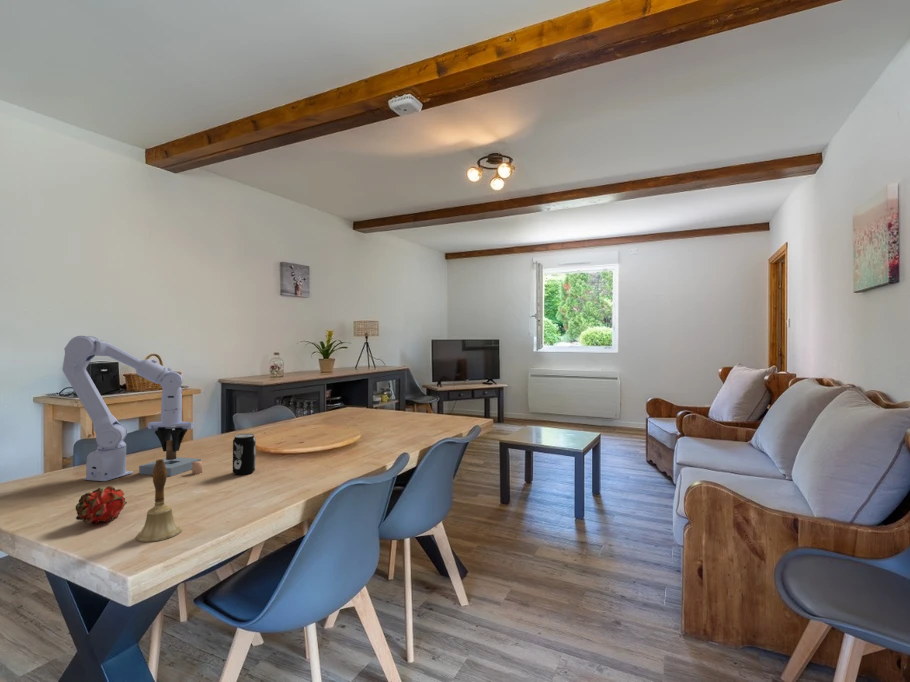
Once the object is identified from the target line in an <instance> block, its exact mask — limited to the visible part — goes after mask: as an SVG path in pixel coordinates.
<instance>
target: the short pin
mask: <svg viewBox="0 0 910 682" xmlns="http://www.w3.org/2000/svg"><path fill="white" fill-rule="evenodd" d="M200 473H201V474H203V461H202V460H201V461H196V462H192V470H191V474H192V475H194V474H196V475H201V474H200Z"/></svg>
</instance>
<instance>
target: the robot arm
mask: <svg viewBox="0 0 910 682" xmlns="http://www.w3.org/2000/svg"><path fill="white" fill-rule="evenodd" d="M95 356H96V357H97V356H99V357H110V358H111V359H114V360H116V361H118V362H120V363H122V364H124V365H127V366H129V367H131V368H133V369H135V372H136V375H137V376H140V377H141V378H144V379H145V380H147V381H150V382H151V383H154V384H156V385H158V384H159V385H160V387H161V388H162V391H161V397H160V403H161V406H160V418H161V419H160V421H151V422H147V429H148V430H151V429H155V431H154V434H155V435H156V436H157V439H158V440H159V443H160V445H161V449H162V452H165V453H166V441H167V440H172V442H173V452H176V453H177V452H178V451H179V450H180V447H181V445H182V443H183V442H182V440H183V439H184V436H185V435H186V433H187V431H188V430H193V429H196V428H195V427H196V422H193V421H192V422H191V421H183V419H182V416H183V412H182V411H183V410H182V409H183V394H182V392H183V389H182V384H183V380H184V379H183V377H182V375H181V374H180V373H179V372H177V371H174V370H173V371H172V368H170V367H168V368H167V367H166V366H164V365H163V364H162V365H161V364H160V363H158V360H156V359H149V358H146V359H140V358H138V357H137V356H135V355H133V354H131V353H129V352H127V351H125V350H123V349H122V348H120V347H118V346H116V345H115V344H113V343H110V342H108V341H105V340H102V339H99V338H97V337H95V336H93V335H92V336H91V335H86V336H85V335H76V336H73V337H72V338H71V339H70V340H69V341H68V343H67V344H66V346H65V347H64V357H63V363H62V372H63V373H64V374H63V375H65V377H66V379H67V381H68V382H69V384H70V386H71V387H72V389H73V391H74V393H75V395H76V396H77V397H78V399H79V401H80V402H81V404H82V406H83V408H84V410H85V411H86V413H87V415H88V417H89V418H90V420H91V422H92V426H93V431H94V433H95V436H96V437H95V442H96V444H97V447H96V449H95V451H91V452H89V453H88V455H87V456H86V460H85V461H86V463H85V464H86V466H85V467H86V468H85V469H86V470H85V476H86V477H83V480H86V481H96V482H107V481H110V480H113V479H118V478H120V477H125V476H127V475H130V474H131V475H132V474H133V473H134V471H133V470H131V471H130V470H127V443H126V442H125V441H124V440H125V439H126V438H127V435H128V429H127V428H126V426H125V425H123V424H122V423H120V422H119V421H118V419H117V418H116V417H115V415H113V414H112V412H111V411H110V408H109V407H108V406H107V404H106V402H105V401H104V398H103V397H102V395H101V393H100V392H99V389H98V388H97V387H96V384H95V383H94V381H93V379H92V378H91V375H90V373H89V372H88V371H87V367H88V366H89V364H90V362H91V361H92V360H93V359H94V358H95Z"/></svg>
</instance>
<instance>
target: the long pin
mask: <svg viewBox="0 0 910 682" xmlns="http://www.w3.org/2000/svg"><path fill="white" fill-rule="evenodd" d="M176 457H177V451H176V452H173V442H172V439H170V440H167V441H166V451H165V458H166V460H174V459H176Z"/></svg>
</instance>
